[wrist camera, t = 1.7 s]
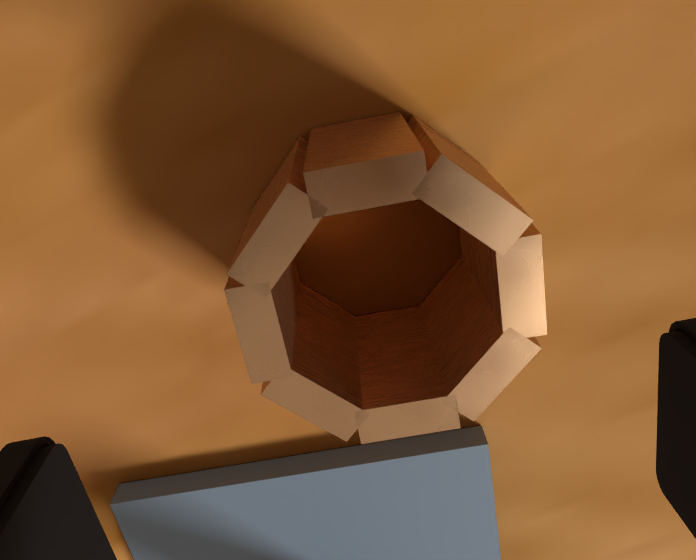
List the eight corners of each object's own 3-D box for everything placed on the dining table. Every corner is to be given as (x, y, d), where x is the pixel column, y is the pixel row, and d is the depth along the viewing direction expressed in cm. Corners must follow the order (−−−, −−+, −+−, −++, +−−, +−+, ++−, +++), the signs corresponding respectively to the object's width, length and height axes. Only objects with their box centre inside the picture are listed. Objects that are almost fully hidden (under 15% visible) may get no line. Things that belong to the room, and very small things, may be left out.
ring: (480, 96, 17) (535, 129, 12) (501, 319, 20) (551, 413, 15) (232, 143, 17) (196, 192, 13) (286, 355, 20) (273, 458, 16)
